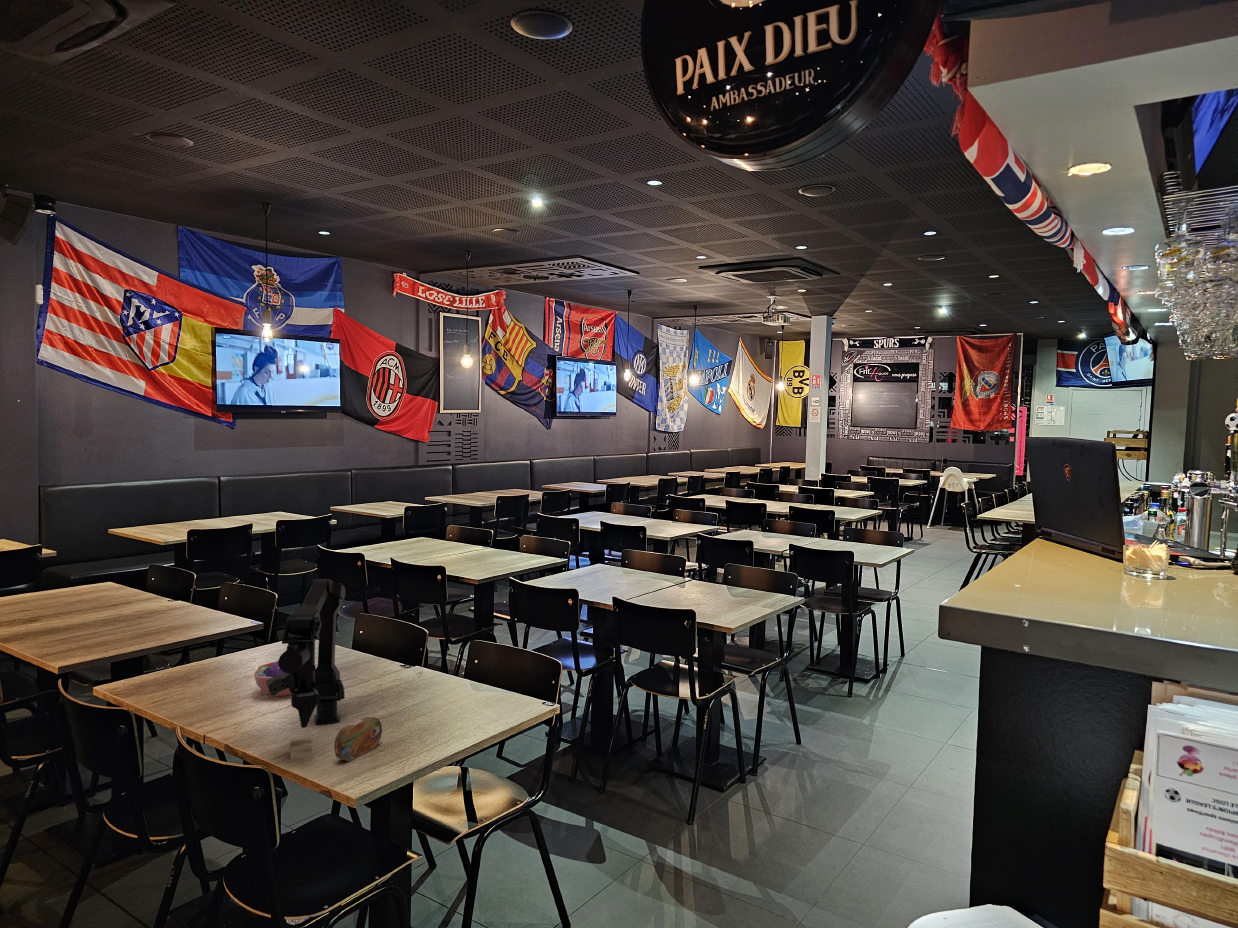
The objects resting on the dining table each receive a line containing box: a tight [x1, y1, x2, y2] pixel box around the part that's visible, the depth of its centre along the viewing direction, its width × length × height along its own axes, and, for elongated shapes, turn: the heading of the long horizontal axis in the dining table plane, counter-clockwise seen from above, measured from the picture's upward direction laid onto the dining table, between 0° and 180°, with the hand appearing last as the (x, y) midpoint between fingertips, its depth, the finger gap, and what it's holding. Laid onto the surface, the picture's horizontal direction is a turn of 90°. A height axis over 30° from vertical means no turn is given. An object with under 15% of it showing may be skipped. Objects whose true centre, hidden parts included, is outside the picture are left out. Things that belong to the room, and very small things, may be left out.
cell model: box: [253, 660, 292, 698], centre depth 237 cm, size 17×20×11 cm
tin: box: [333, 716, 383, 762], centre depth 192 cm, size 15×3×8 cm, turn 157°
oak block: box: [289, 737, 313, 760], centre depth 191 cm, size 5×5×3 cm
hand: (302, 721), depth 191 cm, fingers open, 9 cm apart
